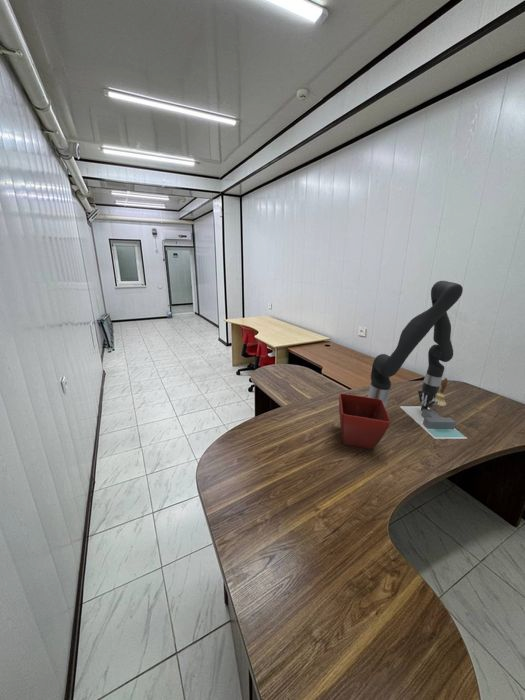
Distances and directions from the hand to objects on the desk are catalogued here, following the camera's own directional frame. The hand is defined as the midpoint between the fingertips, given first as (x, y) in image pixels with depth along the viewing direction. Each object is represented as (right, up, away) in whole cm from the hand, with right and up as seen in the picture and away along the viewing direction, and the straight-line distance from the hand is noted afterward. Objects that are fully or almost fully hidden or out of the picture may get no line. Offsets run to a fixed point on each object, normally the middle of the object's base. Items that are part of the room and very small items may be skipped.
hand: (423, 411), depth 149 cm
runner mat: (0, -4, -6) cm, 7 cm away
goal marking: (+1, -6, -12) cm, 14 cm away
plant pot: (-45, -7, -24) cm, 52 cm away
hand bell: (+17, +2, +14) cm, 23 cm away
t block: (+1, -4, -7) cm, 8 cm away
